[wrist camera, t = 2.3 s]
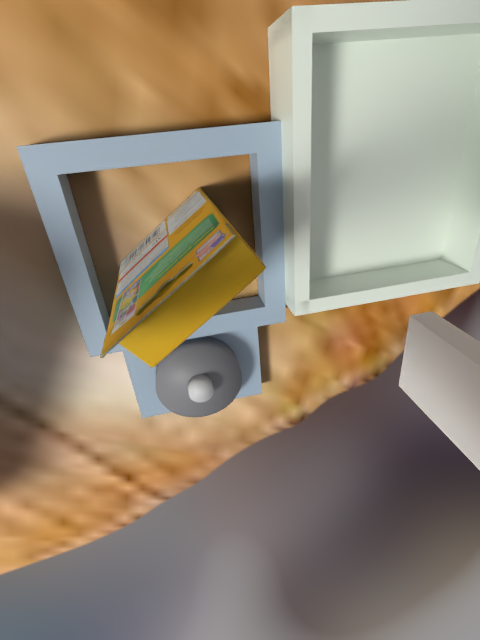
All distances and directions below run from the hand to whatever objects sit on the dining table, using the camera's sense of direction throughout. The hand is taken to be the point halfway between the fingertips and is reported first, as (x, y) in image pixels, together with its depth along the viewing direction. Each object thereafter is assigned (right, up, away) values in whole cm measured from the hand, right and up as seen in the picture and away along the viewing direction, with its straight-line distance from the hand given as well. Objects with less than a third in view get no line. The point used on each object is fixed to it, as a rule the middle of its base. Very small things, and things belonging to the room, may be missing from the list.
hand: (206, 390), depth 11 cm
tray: (+10, +12, +14) cm, 21 cm away
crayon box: (-3, +8, +13) cm, 16 cm away
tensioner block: (-3, +4, +15) cm, 16 cm away
